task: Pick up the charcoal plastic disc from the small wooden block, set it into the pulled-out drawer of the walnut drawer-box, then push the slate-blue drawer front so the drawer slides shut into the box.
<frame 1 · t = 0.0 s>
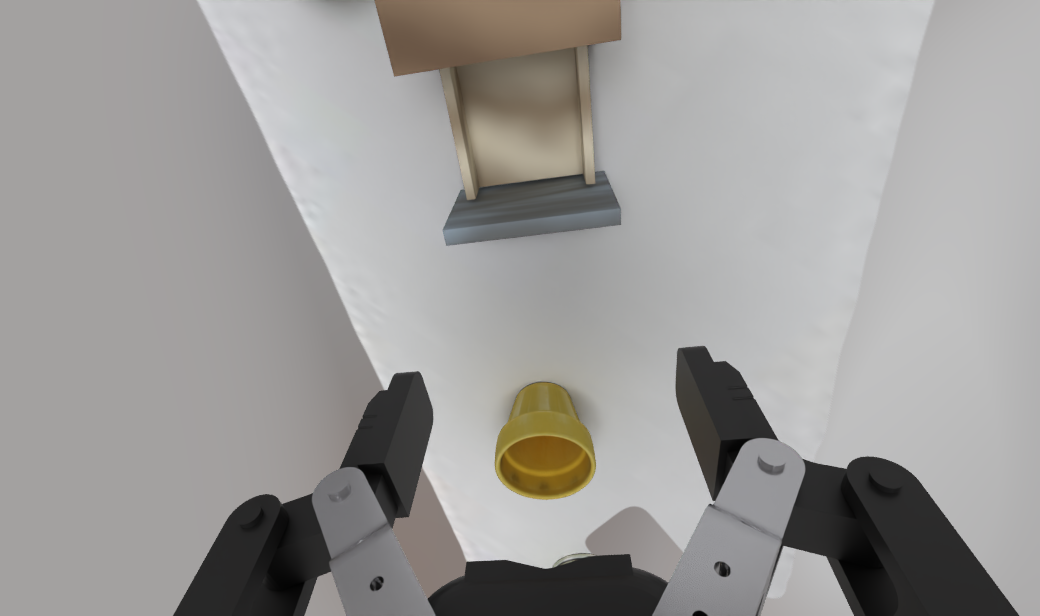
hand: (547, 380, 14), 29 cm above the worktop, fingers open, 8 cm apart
plant pot: (543, 400, 55), on the worktop
drawer: (521, 127, 33), point 6 cm above the worktop, slide at 10.0 cm
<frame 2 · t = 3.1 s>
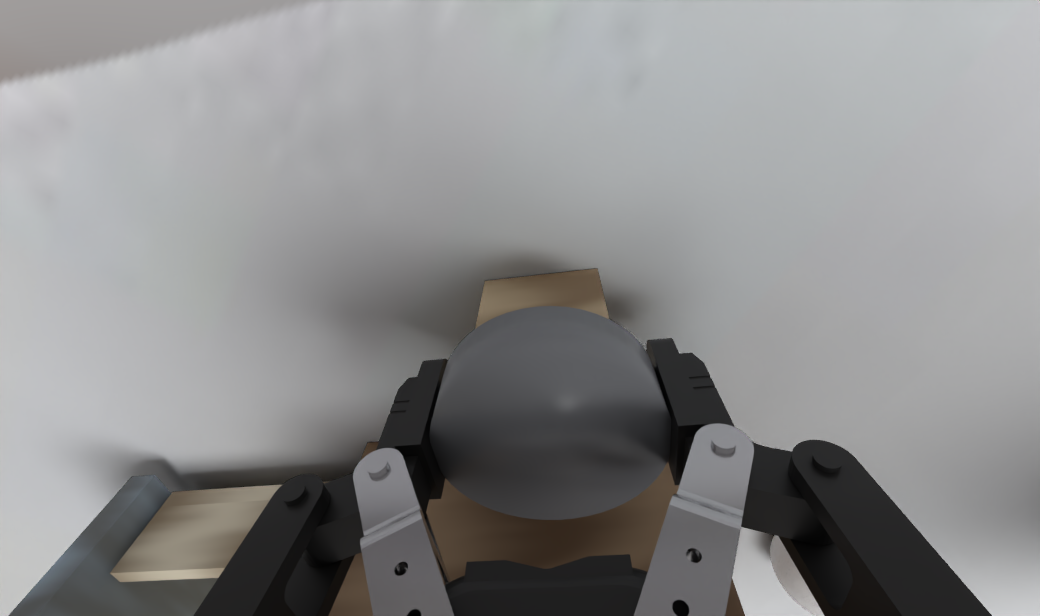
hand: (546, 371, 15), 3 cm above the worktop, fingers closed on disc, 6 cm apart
garlic bulb: (823, 528, 24), on the worktop
wooden block: (546, 321, 17), on the worktop
disc: (548, 395, 14), point 4 cm above the worktop, touching gripper, wooden block
housing: (534, 515, 24), on the worktop
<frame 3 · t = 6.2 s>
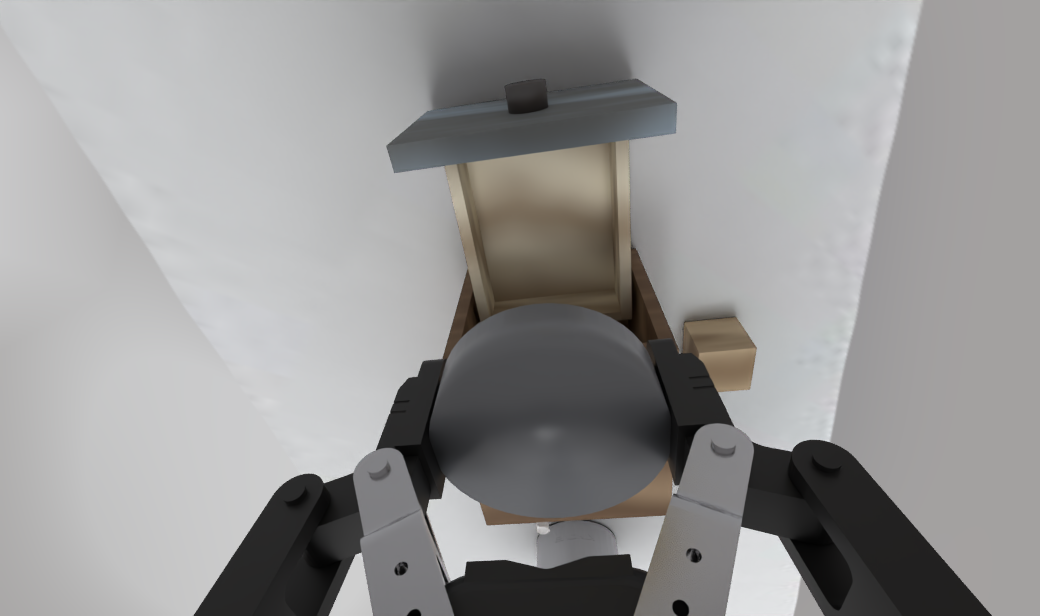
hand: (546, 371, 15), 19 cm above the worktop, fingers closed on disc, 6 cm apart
wooden block: (708, 339, 37), on the worktop
disc: (548, 393, 14), point 20 cm above the worktop, touching gripper
drawer: (543, 225, 27), point 5 cm above the worktop, slide at 10.0 cm
housing: (559, 334, 38), on the worktop
when the fingers open (5 cm above the worktop, at t = 9.3 s): disc drops 4 cm, resting on drawer.
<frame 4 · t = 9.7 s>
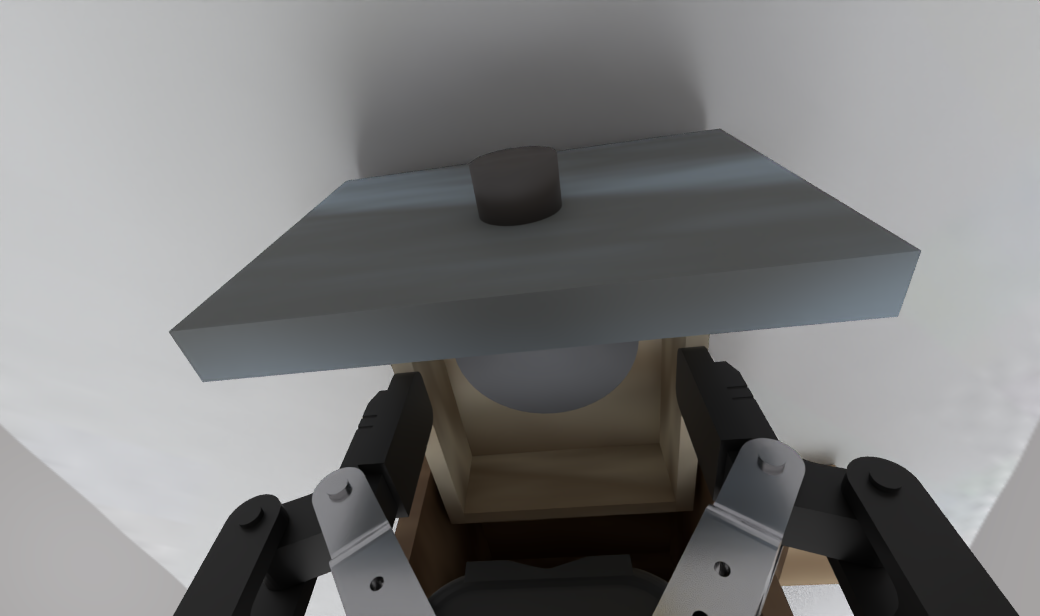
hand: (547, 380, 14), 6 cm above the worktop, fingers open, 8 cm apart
wooden block: (788, 490, 25), on the worktop
disc: (544, 315, 17), point 2 cm above the worktop, touching drawer
drawer: (549, 393, 15), point 6 cm above the worktop, slide at 10.0 cm, touching disc
housing: (570, 481, 26), on the worktop
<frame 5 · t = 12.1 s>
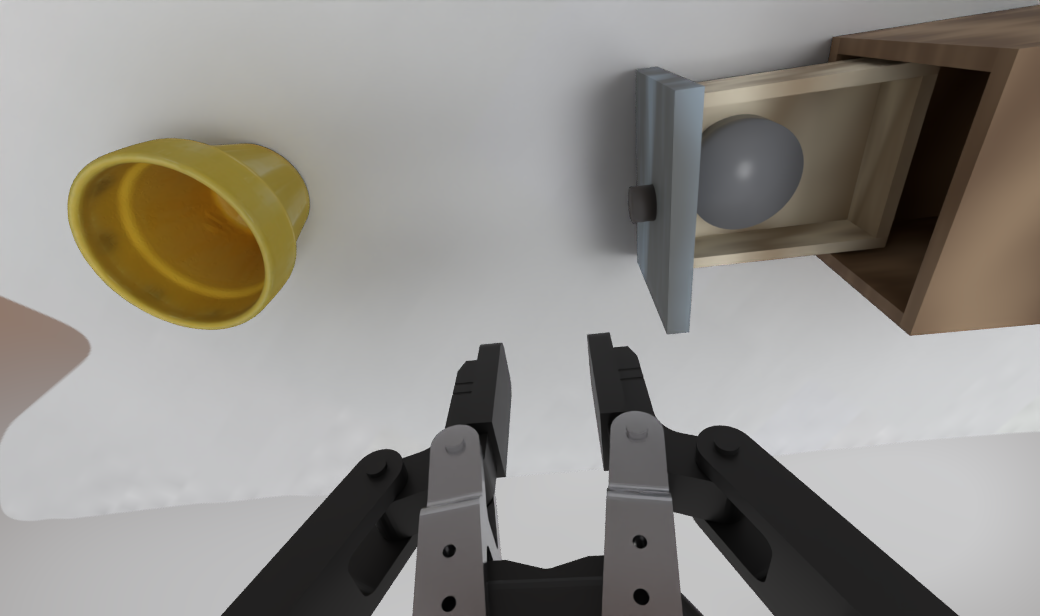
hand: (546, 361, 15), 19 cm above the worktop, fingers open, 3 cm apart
disc: (733, 169, 28), point 2 cm above the worktop, touching drawer
plant pot: (266, 191, 32), on the worktop
drawer: (769, 184, 25), point 6 cm above the worktop, slide at 10.0 cm, touching disc
housing: (929, 132, 29), on the worktop
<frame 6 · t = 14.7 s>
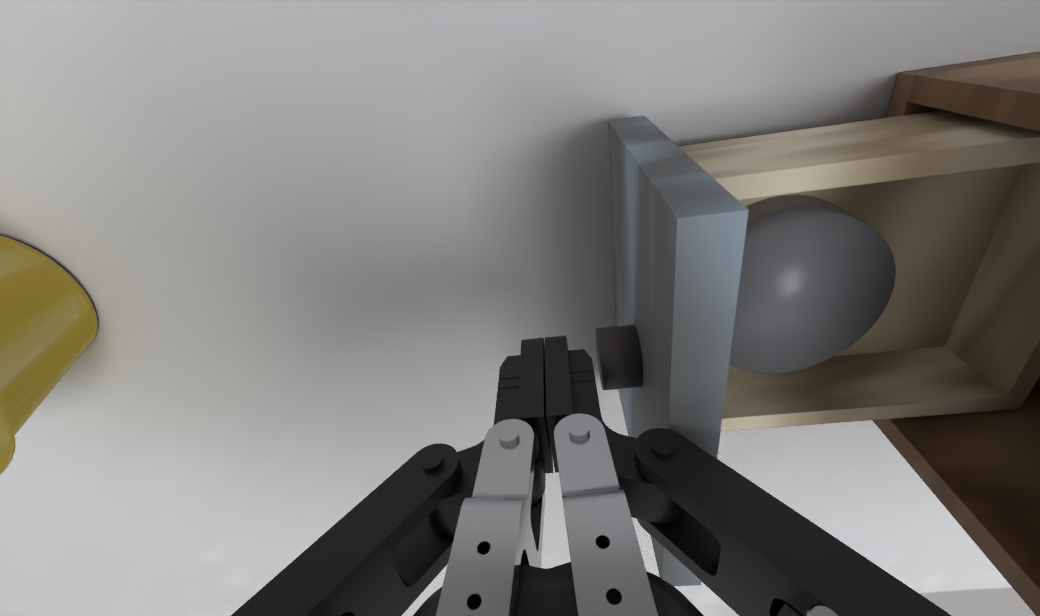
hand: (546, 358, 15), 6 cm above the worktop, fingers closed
disc: (768, 275, 18), point 2 cm above the worktop, touching drawer
plant pot: (30, 294, 22), on the worktop
drawer: (841, 326, 14), point 6 cm above the worktop, slide at 8.5 cm, touching disc, gripper
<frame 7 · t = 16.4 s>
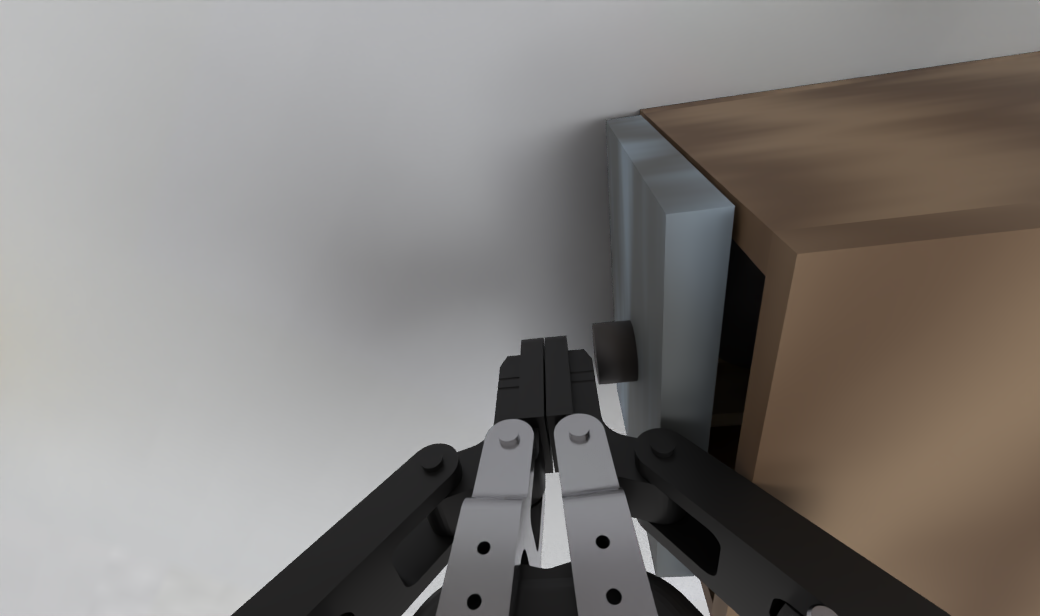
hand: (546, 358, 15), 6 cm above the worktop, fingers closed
disc: (764, 273, 18), point 2 cm above the worktop, touching drawer
drawer: (833, 322, 15), point 6 cm above the worktop, slide at 0.1 cm, touching disc, gripper
housing: (810, 244, 19), on the worktop
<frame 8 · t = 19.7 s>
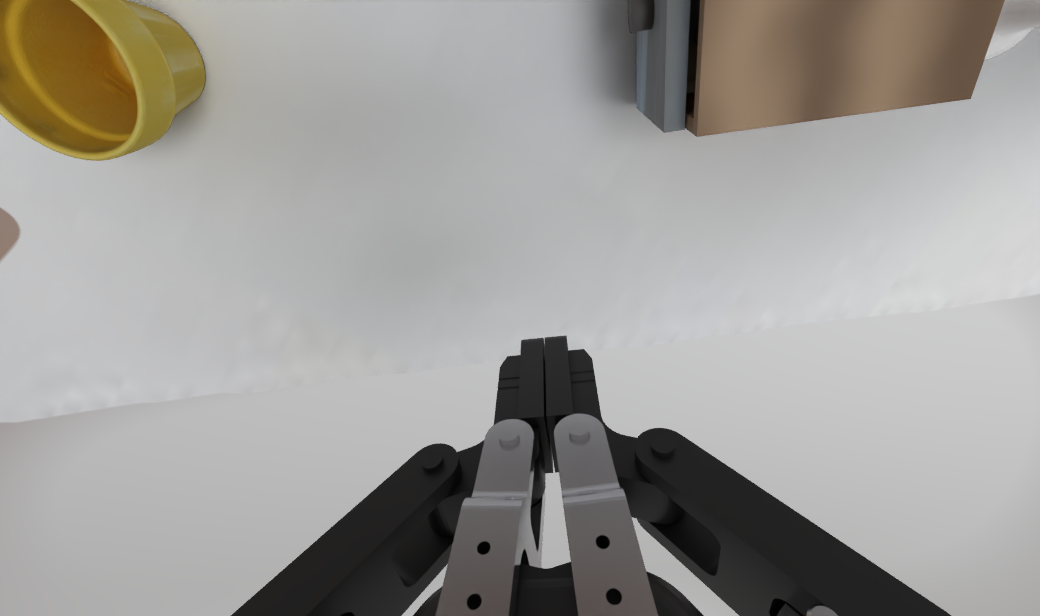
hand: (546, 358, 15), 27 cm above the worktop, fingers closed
garlic bulb: (966, 10, 32), on the worktop
plant pot: (165, 59, 35), on the worktop
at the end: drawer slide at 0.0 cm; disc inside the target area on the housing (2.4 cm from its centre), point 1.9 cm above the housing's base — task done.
